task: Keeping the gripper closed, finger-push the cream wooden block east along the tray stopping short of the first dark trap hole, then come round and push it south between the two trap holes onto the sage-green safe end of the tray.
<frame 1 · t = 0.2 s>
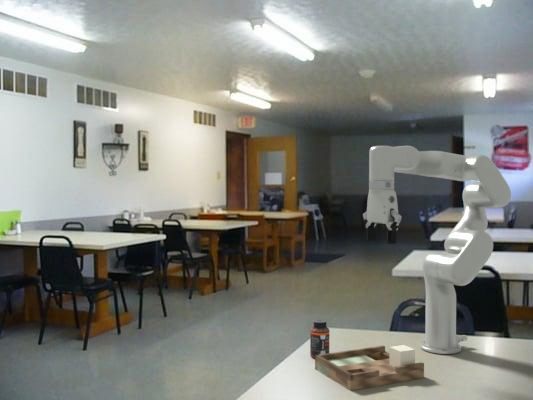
hand: (381, 242, 172), 36 cm above the table, tool pointing down, fingers open, 9 cm apart
tray: (368, 373, 159), on the table
supplement bottle: (319, 357, 175), on the table
block: (402, 365, 158), point 2 cm above the table, touching tray
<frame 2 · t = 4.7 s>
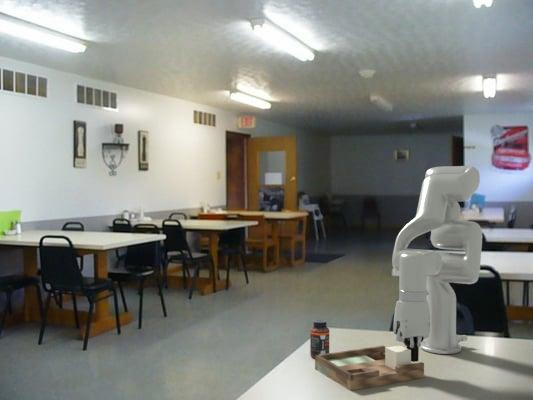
hand: (412, 360, 159), 4 cm above the table, tool pointing down, fingers closed
block: (397, 366, 157), point 3 cm above the table, touching gripper
everything else where it was.
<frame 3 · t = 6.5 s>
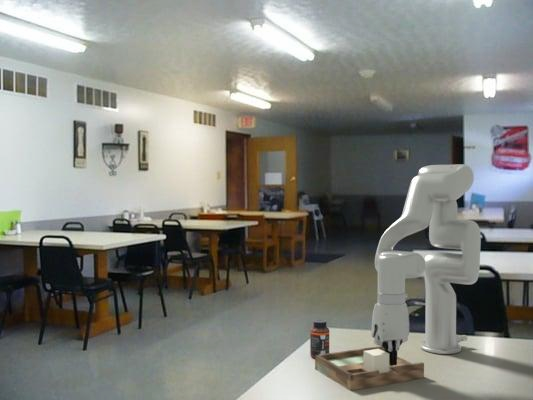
hand: (391, 363, 156), 4 cm above the table, tool pointing down, fingers closed
block: (376, 370, 154), point 2 cm above the table, touching tray, gripper
everything else where it was.
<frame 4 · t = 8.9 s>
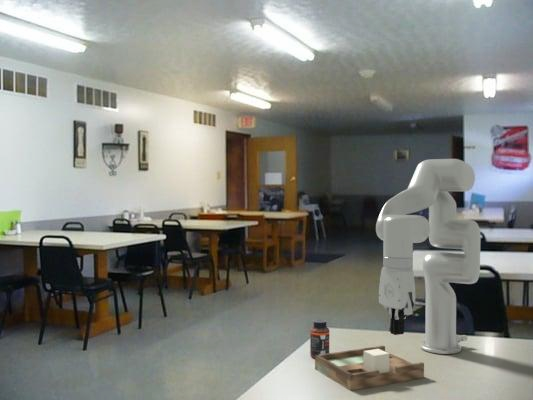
hand: (397, 333, 146), 15 cm above the table, tool pointing down, fingers closed
block: (376, 370, 154), point 2 cm above the table, touching tray
everything else where it was.
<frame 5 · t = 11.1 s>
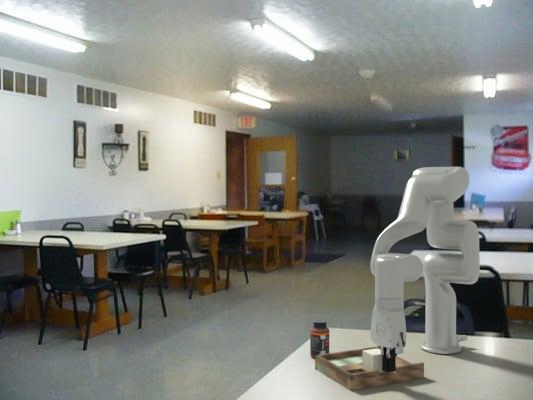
hand: (388, 371, 150), 4 cm above the table, tool pointing down, fingers closed
block: (375, 369, 154), point 3 cm above the table, touching gripper
everything else where it was.
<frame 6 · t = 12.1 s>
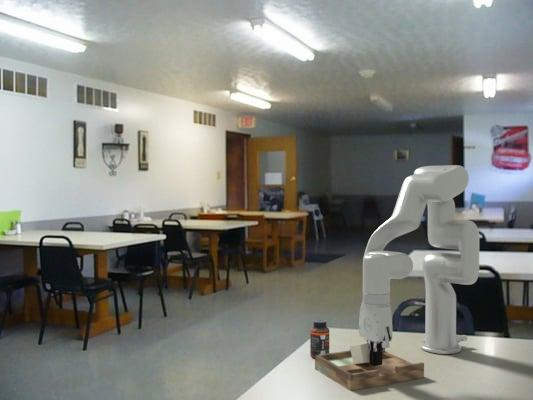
hand: (375, 364, 155), 4 cm above the table, tool pointing down, fingers closed
block: (365, 362, 159), point 3 cm above the table, tilted 19°, touching gripper
everything else where it was.
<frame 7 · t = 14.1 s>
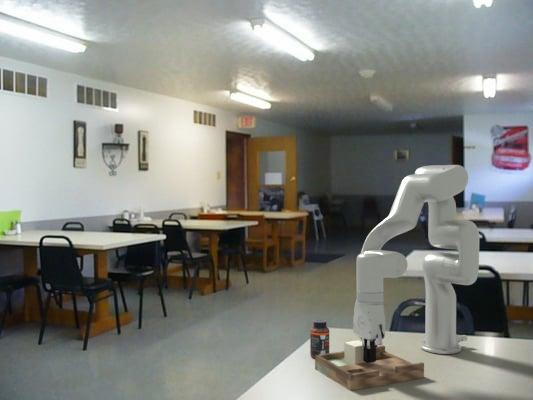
hand: (369, 361, 158), 4 cm above the table, tool pointing down, fingers closed
block: (356, 360, 163), point 2 cm above the table, touching tray
everything else where it was.
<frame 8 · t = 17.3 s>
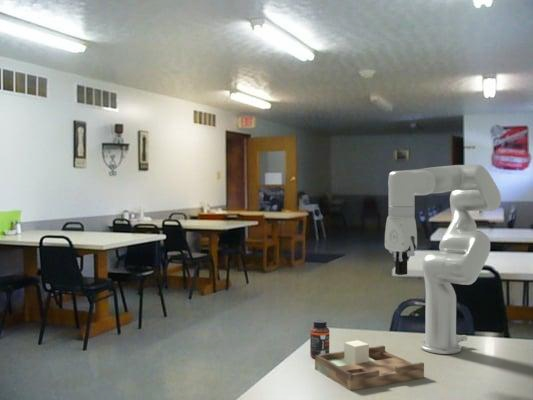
hand: (401, 274, 166), 27 cm above the table, tool pointing down, fingers closed
nothing on the table moved.
at the end: block inside the target area on the tray (2.6 cm from its centre), point 2.5 cm above the tray's base; block tilted 0° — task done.
